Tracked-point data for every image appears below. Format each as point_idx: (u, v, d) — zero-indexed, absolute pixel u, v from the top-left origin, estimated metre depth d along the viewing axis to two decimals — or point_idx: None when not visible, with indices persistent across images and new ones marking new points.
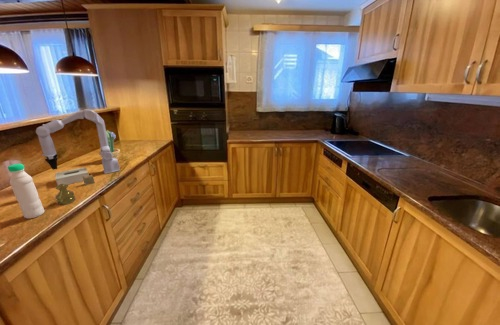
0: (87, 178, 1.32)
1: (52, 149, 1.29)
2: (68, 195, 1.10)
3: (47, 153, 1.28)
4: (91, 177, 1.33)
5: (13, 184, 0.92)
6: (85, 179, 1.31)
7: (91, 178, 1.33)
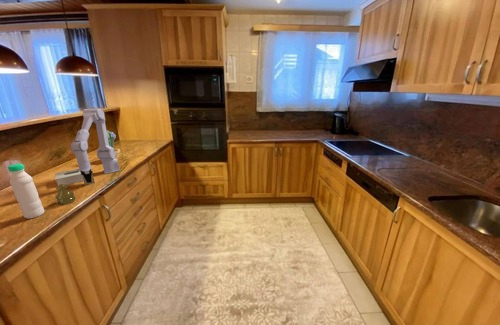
0: None
1: (87, 163, 1.29)
2: (68, 195, 1.10)
3: (83, 168, 1.28)
4: (91, 177, 1.33)
5: (13, 184, 0.92)
6: (85, 179, 1.31)
7: None
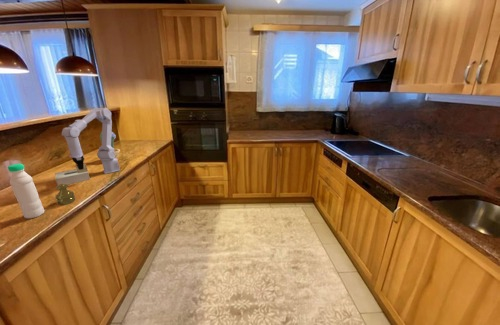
0: None
1: (79, 150, 1.29)
2: (68, 195, 1.10)
3: (74, 154, 1.27)
4: (84, 165, 1.33)
5: (13, 184, 0.92)
6: None
7: (84, 166, 1.33)
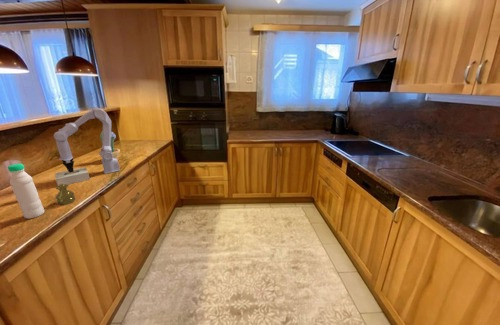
0: None
1: (69, 153, 1.34)
2: (68, 195, 1.10)
3: (64, 157, 1.33)
4: None
5: (13, 184, 0.92)
6: None
7: None
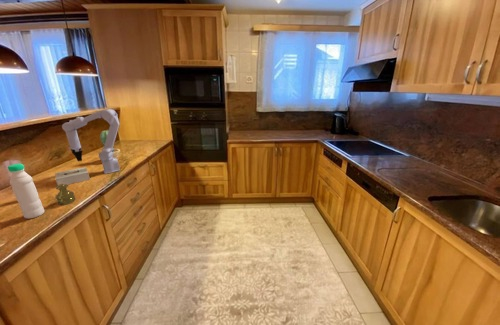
0: None
1: (77, 143, 1.43)
2: (68, 195, 1.10)
3: (73, 146, 1.41)
4: None
5: (13, 184, 0.92)
6: None
7: None
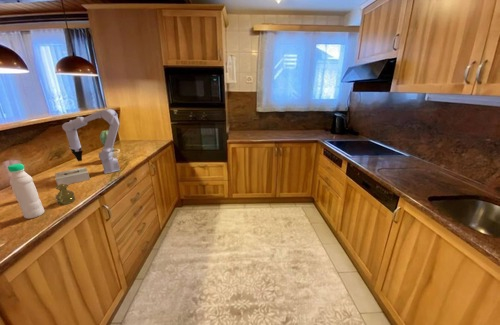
0: None
1: (78, 143, 1.43)
2: (68, 195, 1.10)
3: (73, 146, 1.42)
4: None
5: (13, 184, 0.92)
6: None
7: None
